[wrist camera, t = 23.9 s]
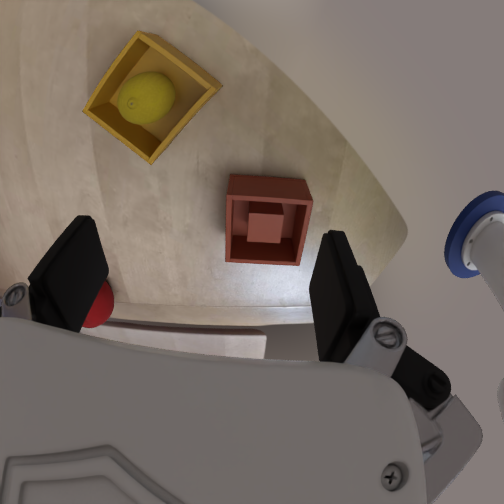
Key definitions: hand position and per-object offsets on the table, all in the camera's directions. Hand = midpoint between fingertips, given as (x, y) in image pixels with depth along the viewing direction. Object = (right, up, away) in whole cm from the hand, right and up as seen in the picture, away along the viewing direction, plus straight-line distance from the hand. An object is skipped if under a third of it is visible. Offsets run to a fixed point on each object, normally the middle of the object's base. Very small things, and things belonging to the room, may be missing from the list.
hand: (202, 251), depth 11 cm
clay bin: (+4, +6, +25) cm, 26 cm away
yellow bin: (-8, +18, +15) cm, 25 cm away
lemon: (-8, +18, +15) cm, 25 cm away
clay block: (+3, +5, +25) cm, 25 cm away
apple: (-26, -6, +35) cm, 44 cm away
